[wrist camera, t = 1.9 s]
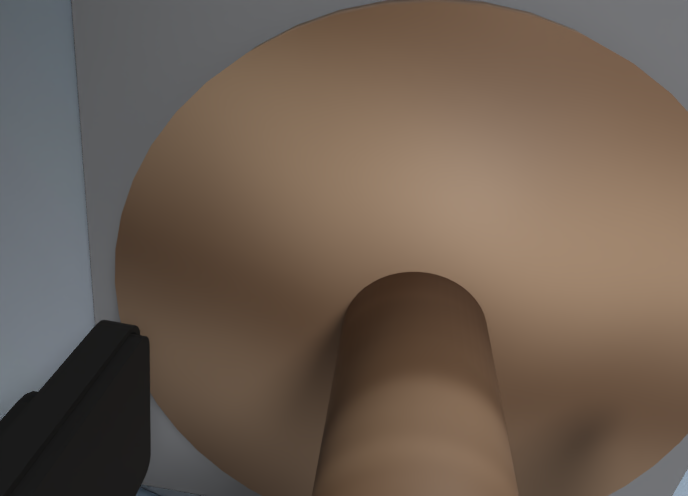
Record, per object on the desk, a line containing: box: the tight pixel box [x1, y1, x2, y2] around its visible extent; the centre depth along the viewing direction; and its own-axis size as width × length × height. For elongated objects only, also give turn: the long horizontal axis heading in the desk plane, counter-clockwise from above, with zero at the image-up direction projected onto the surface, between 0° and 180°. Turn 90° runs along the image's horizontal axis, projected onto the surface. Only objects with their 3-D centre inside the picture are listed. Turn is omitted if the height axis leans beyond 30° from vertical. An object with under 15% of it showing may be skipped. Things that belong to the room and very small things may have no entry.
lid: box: [115, 0, 688, 496], centre depth 9 cm, size 12×12×7 cm
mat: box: [71, 0, 688, 496], centre depth 13 cm, size 14×14×1 cm
